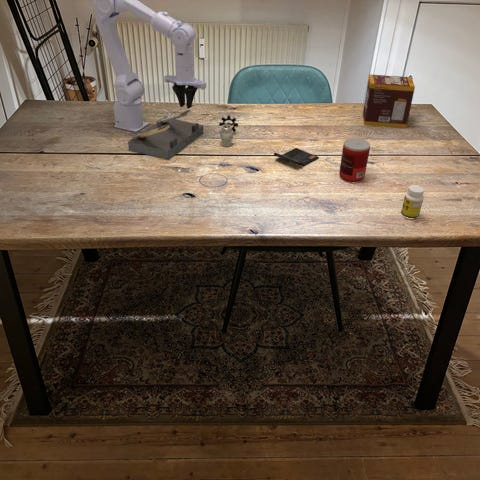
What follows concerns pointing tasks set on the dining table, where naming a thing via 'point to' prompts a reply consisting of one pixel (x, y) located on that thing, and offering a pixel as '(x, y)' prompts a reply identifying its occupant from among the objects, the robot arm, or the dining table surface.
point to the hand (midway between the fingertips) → (185, 106)
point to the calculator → (298, 157)
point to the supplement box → (388, 101)
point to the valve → (227, 131)
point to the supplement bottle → (413, 201)
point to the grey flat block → (166, 139)
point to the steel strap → (176, 116)
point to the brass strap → (154, 131)
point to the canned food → (354, 159)
